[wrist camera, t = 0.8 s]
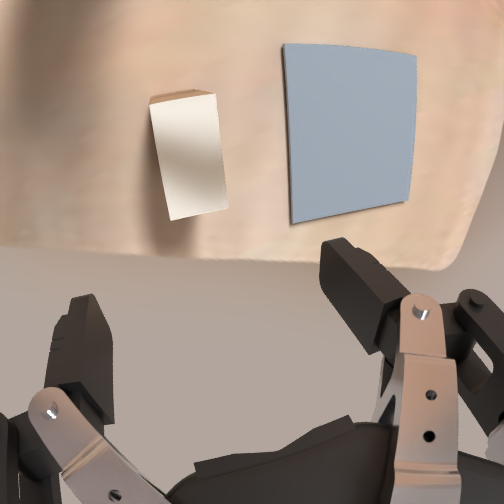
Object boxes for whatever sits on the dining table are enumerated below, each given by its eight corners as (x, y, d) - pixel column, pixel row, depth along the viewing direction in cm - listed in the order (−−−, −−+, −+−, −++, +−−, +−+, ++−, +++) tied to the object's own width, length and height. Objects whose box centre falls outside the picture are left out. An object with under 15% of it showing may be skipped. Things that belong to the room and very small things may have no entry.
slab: (150, 96, 23) (149, 104, 15) (193, 89, 24) (215, 93, 16) (163, 173, 27) (170, 220, 19) (203, 165, 28) (228, 208, 20)
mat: (282, 44, 24) (284, 43, 23) (414, 55, 27) (416, 55, 27) (291, 222, 33) (292, 223, 33) (406, 199, 37) (408, 200, 36)
